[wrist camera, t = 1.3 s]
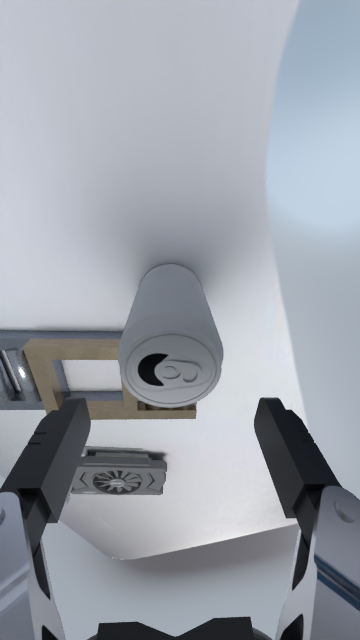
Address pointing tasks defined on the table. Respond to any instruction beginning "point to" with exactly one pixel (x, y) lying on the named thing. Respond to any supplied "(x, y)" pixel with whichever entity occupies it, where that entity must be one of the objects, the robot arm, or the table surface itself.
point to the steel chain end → (3, 393)
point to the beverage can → (170, 340)
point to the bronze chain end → (90, 349)
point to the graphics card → (117, 473)
